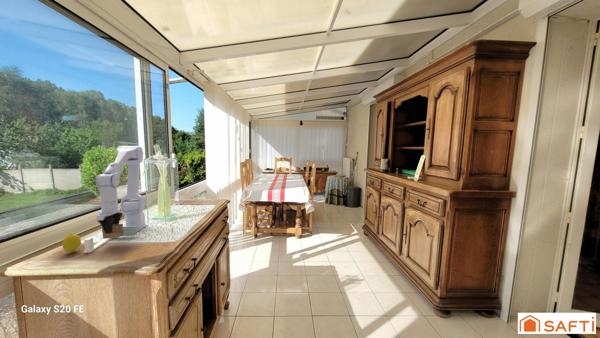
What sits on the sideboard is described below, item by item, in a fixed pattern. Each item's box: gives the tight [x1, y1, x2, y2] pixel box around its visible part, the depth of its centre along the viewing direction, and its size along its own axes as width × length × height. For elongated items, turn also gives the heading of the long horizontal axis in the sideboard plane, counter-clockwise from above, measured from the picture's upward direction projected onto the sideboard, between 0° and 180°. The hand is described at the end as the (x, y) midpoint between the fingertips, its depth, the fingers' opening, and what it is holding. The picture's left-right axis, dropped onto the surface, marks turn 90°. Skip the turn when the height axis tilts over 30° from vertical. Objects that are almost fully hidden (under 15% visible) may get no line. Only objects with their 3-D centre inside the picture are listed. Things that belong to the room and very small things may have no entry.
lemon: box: [61, 233, 82, 253], centre depth 96 cm, size 6×6×8 cm
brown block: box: [101, 223, 124, 240], centre depth 103 cm, size 4×6×5 cm, turn 101°
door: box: [121, 225, 138, 237], centre depth 112 cm, size 12×2×5 cm, turn 99°
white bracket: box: [83, 237, 113, 254], centre depth 105 cm, size 18×2×5 cm, turn 11°
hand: (111, 231), depth 103 cm, fingers closed on brown block, 4 cm apart
